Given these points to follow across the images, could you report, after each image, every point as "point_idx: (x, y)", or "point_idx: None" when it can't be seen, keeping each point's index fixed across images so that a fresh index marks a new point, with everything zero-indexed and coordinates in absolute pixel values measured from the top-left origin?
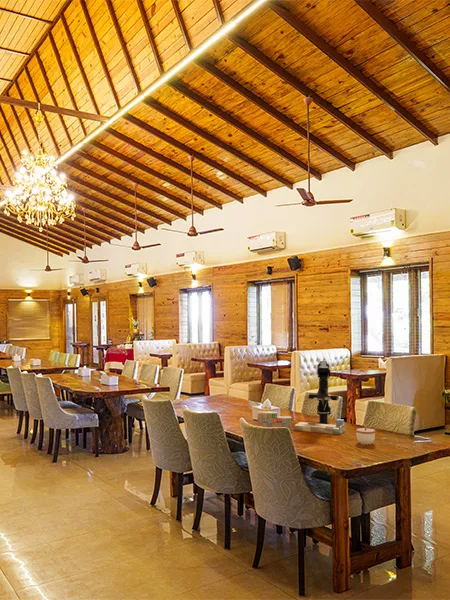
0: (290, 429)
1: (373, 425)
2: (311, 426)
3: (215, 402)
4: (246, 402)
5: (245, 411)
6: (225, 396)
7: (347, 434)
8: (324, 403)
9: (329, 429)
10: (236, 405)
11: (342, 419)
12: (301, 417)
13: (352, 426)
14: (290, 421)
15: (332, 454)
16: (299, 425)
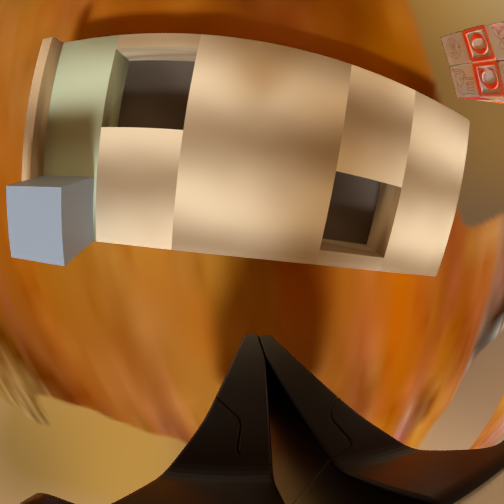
0: (458, 35)
1: (17, 395)
2: (346, 84)
3: (500, 435)
4: None
5: (496, 411)
6: None
7: (30, 85)
8: (238, 448)
9: (149, 36)
10: (482, 443)
11: (19, 248)
12: None
13: (70, 367)
14: (497, 27)
15: None
16: (441, 120)
